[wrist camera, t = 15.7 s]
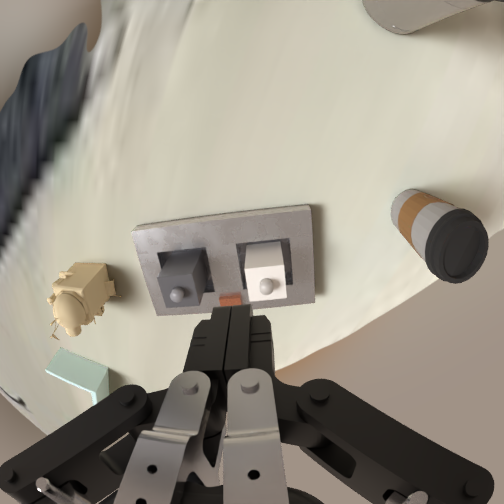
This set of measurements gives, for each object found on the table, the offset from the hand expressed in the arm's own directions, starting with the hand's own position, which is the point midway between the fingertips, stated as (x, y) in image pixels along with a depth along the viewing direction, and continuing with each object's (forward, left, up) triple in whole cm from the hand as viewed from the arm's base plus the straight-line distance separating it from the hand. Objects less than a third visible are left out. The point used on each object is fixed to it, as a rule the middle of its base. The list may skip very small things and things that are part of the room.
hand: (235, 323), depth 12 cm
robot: (+13, -29, -29) cm, 43 cm away
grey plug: (+11, -10, -28) cm, 32 cm away
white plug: (+11, 0, -28) cm, 31 cm away
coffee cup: (+6, +22, -29) cm, 37 cm away
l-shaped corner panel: (+36, -42, -29) cm, 63 cm away
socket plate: (+11, -5, -29) cm, 31 cm away
